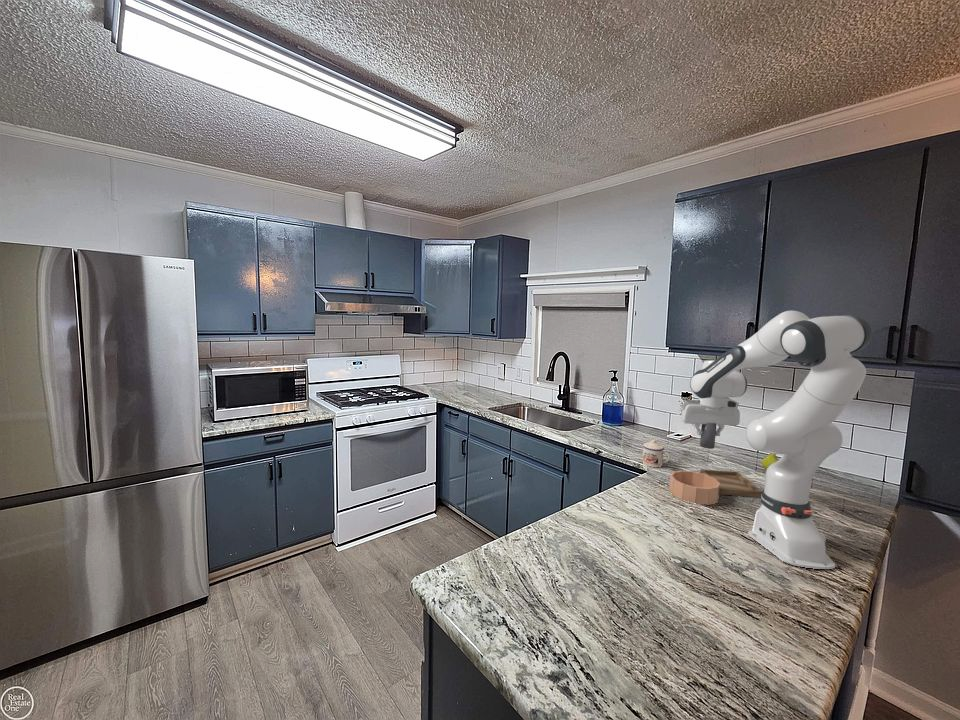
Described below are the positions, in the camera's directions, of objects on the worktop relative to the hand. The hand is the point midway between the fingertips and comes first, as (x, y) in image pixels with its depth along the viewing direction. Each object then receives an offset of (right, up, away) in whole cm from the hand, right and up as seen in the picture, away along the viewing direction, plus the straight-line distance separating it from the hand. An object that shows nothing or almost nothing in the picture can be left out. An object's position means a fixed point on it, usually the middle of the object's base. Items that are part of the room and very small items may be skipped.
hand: (708, 435), depth 156 cm
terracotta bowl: (-6, -23, 0) cm, 24 cm away
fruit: (+42, -21, +25) cm, 54 cm away
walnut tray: (+14, -23, +9) cm, 28 cm away
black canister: (0, -5, +1) cm, 5 cm away
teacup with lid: (-7, -20, +30) cm, 37 cm away
